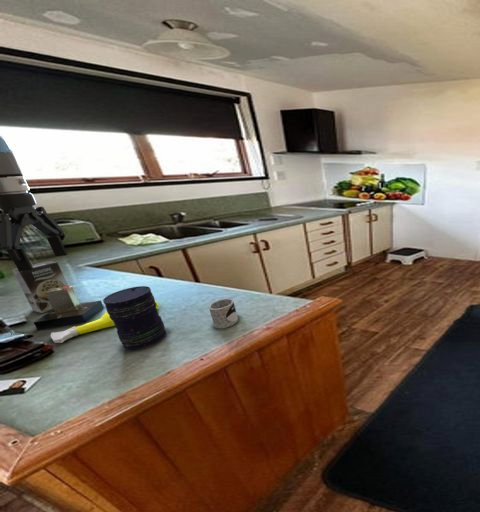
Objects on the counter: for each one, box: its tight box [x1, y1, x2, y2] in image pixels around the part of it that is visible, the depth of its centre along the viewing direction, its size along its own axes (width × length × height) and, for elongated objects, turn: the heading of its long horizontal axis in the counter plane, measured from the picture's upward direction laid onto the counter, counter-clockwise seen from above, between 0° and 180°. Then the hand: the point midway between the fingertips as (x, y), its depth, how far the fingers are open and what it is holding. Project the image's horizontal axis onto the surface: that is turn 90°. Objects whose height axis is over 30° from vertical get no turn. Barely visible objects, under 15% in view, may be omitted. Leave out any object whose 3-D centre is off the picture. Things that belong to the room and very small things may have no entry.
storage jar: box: [102, 285, 168, 352], centre depth 76 cm, size 10×10×15 cm
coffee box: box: [11, 260, 69, 314], centre depth 97 cm, size 9×6×16 cm
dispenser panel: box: [32, 300, 105, 331], centre depth 91 cm, size 12×10×3 cm
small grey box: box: [45, 285, 82, 314], centre depth 89 cm, size 6×2×8 cm, turn 109°
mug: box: [208, 297, 239, 329], centre depth 86 cm, size 10×7×7 cm, turn 9°
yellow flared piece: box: [50, 300, 160, 344], centre depth 88 cm, size 3×11×24 cm
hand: (45, 262), depth 84 cm, fingers open, 13 cm apart
